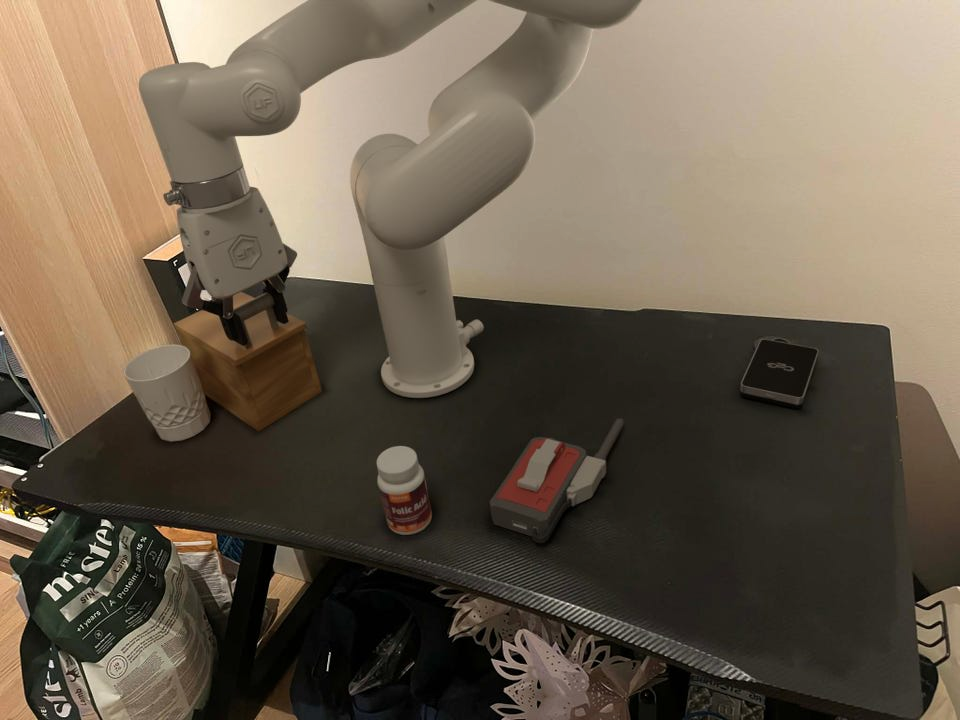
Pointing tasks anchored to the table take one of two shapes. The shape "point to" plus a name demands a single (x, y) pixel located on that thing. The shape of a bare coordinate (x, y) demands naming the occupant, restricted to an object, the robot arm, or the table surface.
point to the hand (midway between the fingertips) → (259, 329)
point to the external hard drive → (779, 373)
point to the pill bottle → (403, 490)
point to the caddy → (258, 379)
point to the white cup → (169, 391)
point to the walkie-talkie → (548, 484)
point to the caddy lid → (255, 321)
